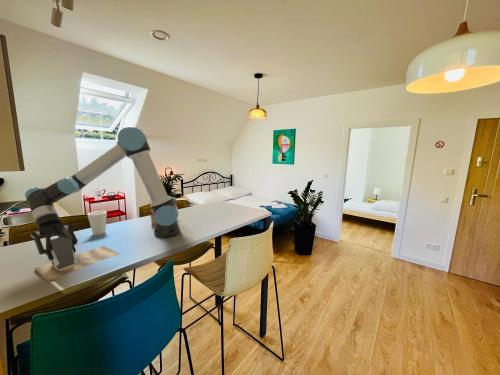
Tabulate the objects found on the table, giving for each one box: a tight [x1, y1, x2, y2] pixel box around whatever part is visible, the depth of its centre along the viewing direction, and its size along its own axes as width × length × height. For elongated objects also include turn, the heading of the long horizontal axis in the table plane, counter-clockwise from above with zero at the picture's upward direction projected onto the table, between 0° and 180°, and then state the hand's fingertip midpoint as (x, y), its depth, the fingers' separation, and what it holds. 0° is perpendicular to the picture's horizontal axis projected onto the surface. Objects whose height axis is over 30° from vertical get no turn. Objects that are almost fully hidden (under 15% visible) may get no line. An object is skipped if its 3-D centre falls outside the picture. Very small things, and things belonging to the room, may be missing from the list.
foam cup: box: [87, 210, 108, 236], centre depth 130 cm, size 10×9×13 cm
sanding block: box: [50, 237, 75, 271], centre depth 89 cm, size 8×5×11 cm, turn 59°
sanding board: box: [34, 245, 120, 283], centre depth 95 cm, size 26×16×1 cm, turn 149°
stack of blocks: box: [150, 209, 157, 228], centre depth 153 cm, size 21×6×12 cm, turn 174°
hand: (66, 262), depth 88 cm, fingers closed on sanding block, 5 cm apart
